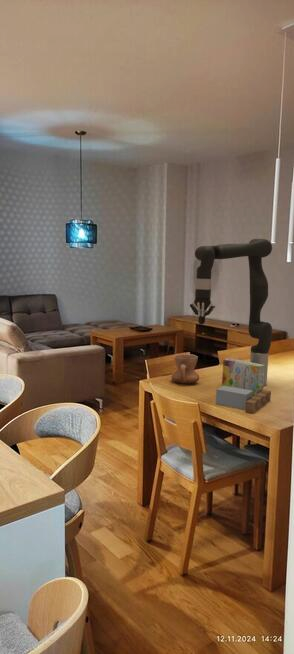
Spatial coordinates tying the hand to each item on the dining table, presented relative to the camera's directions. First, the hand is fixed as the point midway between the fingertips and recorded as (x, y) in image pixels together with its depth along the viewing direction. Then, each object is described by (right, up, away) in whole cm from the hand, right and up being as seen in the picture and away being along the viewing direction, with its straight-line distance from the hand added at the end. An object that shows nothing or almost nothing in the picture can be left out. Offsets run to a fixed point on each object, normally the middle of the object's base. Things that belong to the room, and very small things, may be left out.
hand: (201, 324), depth 230 cm
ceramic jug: (-7, -31, +18) cm, 37 cm away
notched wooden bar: (+23, -37, -18) cm, 47 cm away
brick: (+12, -36, -17) cm, 42 cm away
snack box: (+21, -34, +6) cm, 40 cm away
